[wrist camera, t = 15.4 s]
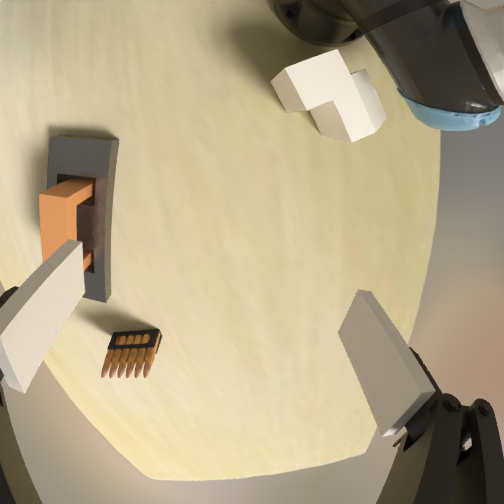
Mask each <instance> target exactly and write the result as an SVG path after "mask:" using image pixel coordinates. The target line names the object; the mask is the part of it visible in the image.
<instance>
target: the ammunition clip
mask: <svg viewBox="0 0 504 504" xmlns="http://www.w3.org/2000/svg"><path fill="white" fill-rule="evenodd" d="M161 338H162V335H161V332H160V330H159V329H154V330H142V331H129V332H114V333H113V335H112V338H111V341H110V343H109V346H108V352H107V355H106V357H105V361H104V365H103V368H102V373H101V376H102V378H103V377H105V375H106V374H107V372H108V370H109V368H110V366H111V368H110V373H109V376H110V378H112V377H113V375H114V374H115V372H116V370H117V368H118V365H119V368H118V378H120V377H121V376H122V374H123V373H124V370H125V368H126V365H127V364H128V365H127V369H126V378H128V377H129V376H130V375H131V373H132V371H133V368H134V366H135V364H136V367H135V378H137V377H138V376H139V374H140V372H141V370H142V367H143V364H144V362H145V364H144V370H143V375H144V378H146V377H147V375H148V374H149V372H150V368H151V366H152V363H153V361H154V357H155V354H156V353H157V351H158V348H159V344H160V341H161Z"/></svg>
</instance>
